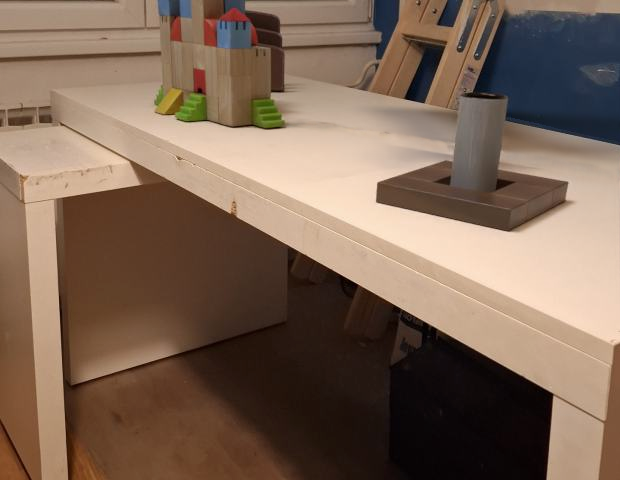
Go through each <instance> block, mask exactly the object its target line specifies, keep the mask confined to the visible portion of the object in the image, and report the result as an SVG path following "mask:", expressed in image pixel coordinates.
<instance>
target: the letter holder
mask: <svg viewBox="0 0 620 480" xmlns="http://www.w3.org/2000/svg"><path fill="white" fill-rule="evenodd" d="M245 16H246V17H247V18H248V19H249V20H251V23H252V25H253V27H254V28H255V31H256V34H257V39H258V44H257V46H258V47H265V48H270V49H271V92H282V93H283V92H284V91H285V59H286V57H285V55H286V54H285V50H284V49H283V35H282V34H281V20H280V17H279V16H278V15H276V14H273V13H268V12H263V11H256V10H248V9H245Z"/></svg>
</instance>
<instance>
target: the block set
mask: <svg viewBox="0 0 620 480" xmlns="http://www.w3.org/2000/svg"><path fill="white" fill-rule="evenodd" d="M157 10H158V11H157V12H158V19H159V20H158V21H159V36H160V37H159V39H160V41H159V42H160V56H161V57H160V59H161V78H162V80H161V81H162V84H161V85H160V89H158V94H156V98H155V99H154V100H153V103H154V105H156V107H155V109H154V110H153V111H154V112H155V113H158V114H160V115H165V116H166V115H174V117H175V119H177V120H180V121H184V122H193V121H194V122H197V121H205V120H207V121H211V122H214V123H217V124H221V125H225V126H229V127H240V126H249V125H250V126H251V125H252V126H253V125H254V126H257V127H260V128H264V129H270V128H279V127H285V125H286V121H285V119H282V113H280V112H279V107H278V106H277V105H275V99H273V98H272V97H271V96H272V95H271V94H272V91H271V49H270V48H265V47H258V46H257V44H258V39H257V34H256V31H255V28H254V27H253V25H252V23H251V20H249V19H248V18H247V17H246V16H245V10H246V0H157Z"/></svg>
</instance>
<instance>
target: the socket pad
mask: <svg viewBox="0 0 620 480" xmlns="http://www.w3.org/2000/svg"><path fill="white" fill-rule="evenodd" d="M452 164H453V160H447V159H445V160H442V161H438V162H436V163H433V164H429V165H426V166H424V167H420V168H418V169H414V170H411V171H408V172H405V173H402V174H399V175H396V176H395V175H394V176H393V177H389V178H387V179H383V180H380V181H377V182H376V193H375V196H376V197H375V202H376V203H381V204H385V205H389V206H393V207H397V208H398V207H399V208H402V209H406V210H407V209H408V210H411V211H417V212H420V213H425V214H429V215H434V216H439V217H444V218H448V219H453V220H457V221H461V222H466V223H470V224H475V225H480V226H484V227H489V228H493V229H496V230H502V231H507V232H509V231H510V230H513V229H514V228H516V227H518V226H520V225H522V224H523V223H526V222H527V221H529V220H531V219H533V218H535V217H537V216H539V215H541V214H543V213H545V212H546V211H548V210H550V209H552V208H554V207H556V206H558V205H560V204H561V203H563V202H565V201H566V198H567V193H568V187H569V181H566V180H562V179H561V180H560V179H555V178H550V177H544V176H538V175H533V174H527V173H520V172H516V171H509V170H504V169H499V168H498V175H497V182H496V190H495V191H494V192H492V193H485V192H480V191H475V190H470V189H465V188H460V187H454V186H450V181H451V172H452Z"/></svg>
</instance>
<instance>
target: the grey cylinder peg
mask: <svg viewBox="0 0 620 480" xmlns="http://www.w3.org/2000/svg"><path fill="white" fill-rule="evenodd" d="M508 102H509V97H508V96H507V95H505V94H500V93H494V92H493V93H492V92H480V91H479V92H476V91H475V92H473V91H472V92H463V93H461V94H460V96H459V103H458V112H457V121H456V128H455V129H456V130H455V137H454V146H453V156H452V161H453V164H452V172H451V181H450V186H454V187H460V188H465V189H470V190H475V191H480V192H485V193H492V192H494V191H495V190H496V182H497V175H498V169H499V168H500V162H501V161H500V159H501V153H502V147H503V138H504V131H505V125H506V117H507V109H508V104H509V103H508Z"/></svg>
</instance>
